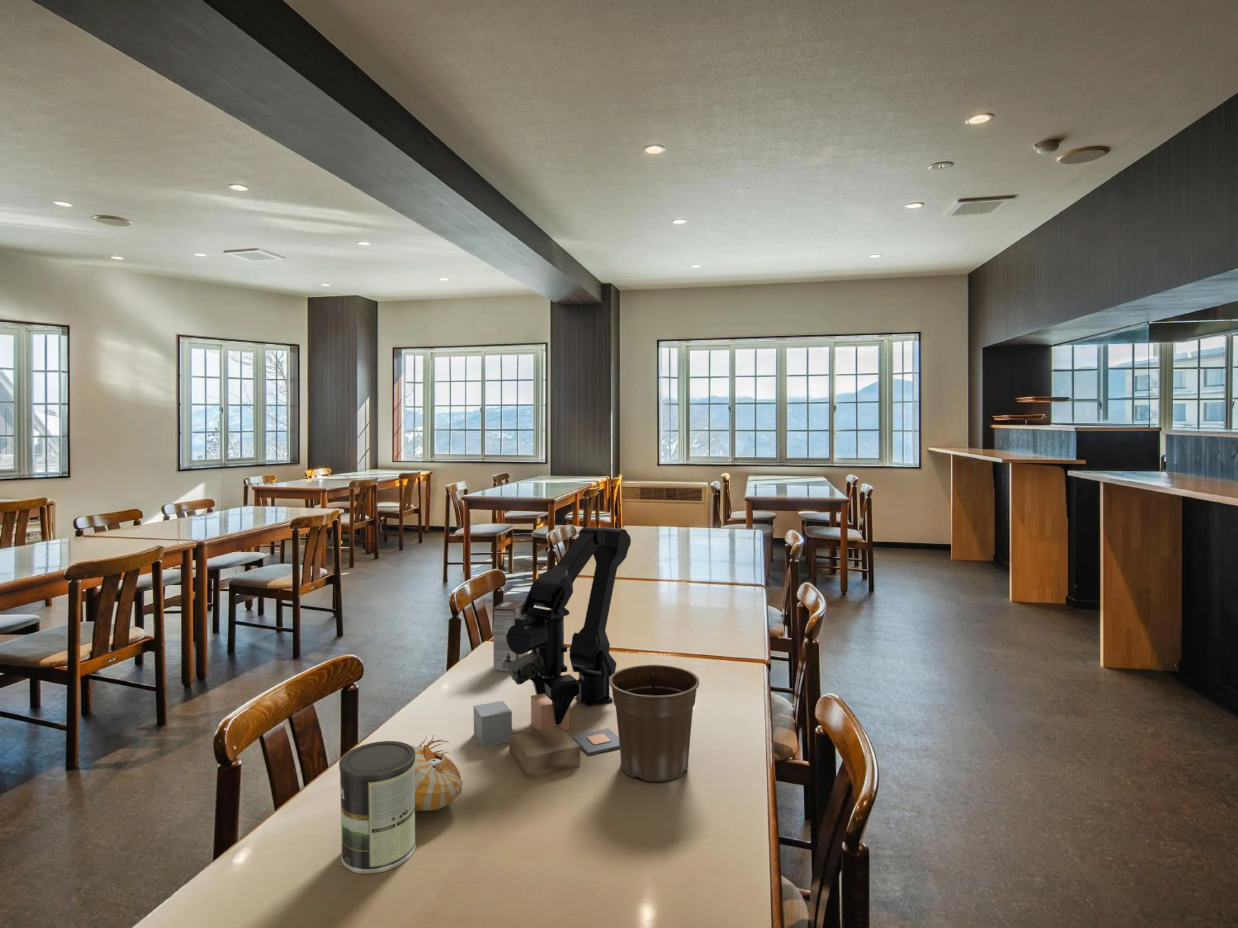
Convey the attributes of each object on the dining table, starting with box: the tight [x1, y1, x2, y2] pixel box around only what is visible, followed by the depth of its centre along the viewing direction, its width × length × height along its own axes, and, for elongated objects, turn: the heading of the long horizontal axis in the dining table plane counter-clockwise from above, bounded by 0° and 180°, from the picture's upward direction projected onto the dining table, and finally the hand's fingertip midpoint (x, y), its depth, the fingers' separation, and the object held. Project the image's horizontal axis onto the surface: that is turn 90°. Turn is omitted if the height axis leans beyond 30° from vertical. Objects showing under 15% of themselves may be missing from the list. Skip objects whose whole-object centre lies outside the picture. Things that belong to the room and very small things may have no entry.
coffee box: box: [492, 599, 529, 672], centre depth 179 cm, size 9×6×16 cm
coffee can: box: [338, 740, 417, 875], centre depth 100 cm, size 10×10×14 cm
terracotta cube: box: [530, 693, 570, 731], centre depth 142 cm, size 6×6×6 cm
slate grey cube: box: [473, 700, 513, 748], centre depth 137 cm, size 6×6×6 cm
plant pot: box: [609, 664, 700, 783], centre depth 125 cm, size 16×16×16 cm
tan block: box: [508, 725, 581, 779], centre depth 128 cm, size 10×10×4 cm
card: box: [571, 727, 620, 756], centre depth 135 cm, size 8×8×1 cm
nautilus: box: [411, 734, 463, 812], centre depth 116 cm, size 8×22×15 cm
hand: (550, 715), depth 142 cm, fingers open, 9 cm apart
